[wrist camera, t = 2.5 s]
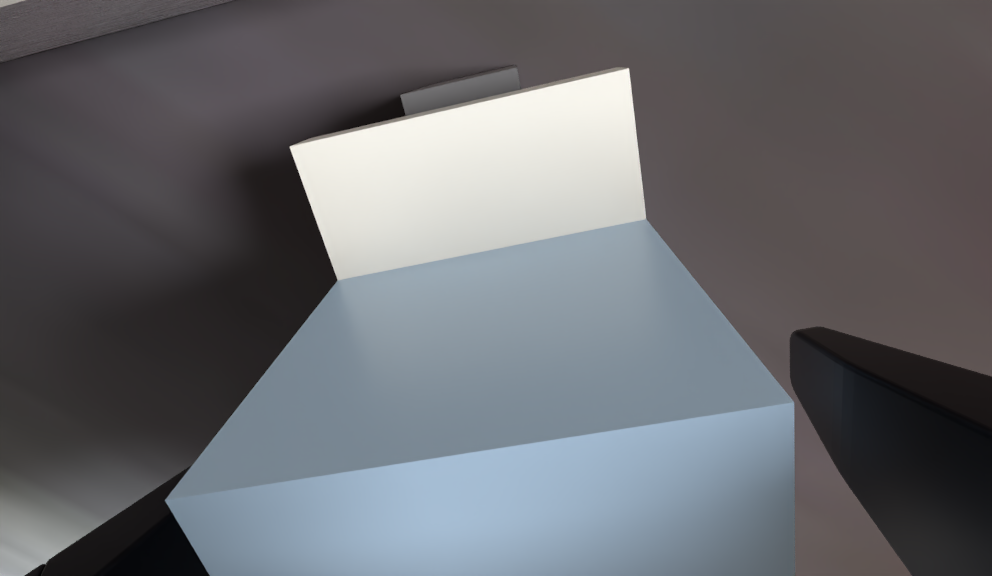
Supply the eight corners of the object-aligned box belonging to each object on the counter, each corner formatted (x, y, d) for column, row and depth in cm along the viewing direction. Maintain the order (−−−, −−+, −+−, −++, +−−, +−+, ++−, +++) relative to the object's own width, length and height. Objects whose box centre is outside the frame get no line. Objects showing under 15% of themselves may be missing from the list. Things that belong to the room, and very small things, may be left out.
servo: (484, 506, 13) (452, 982, 7) (362, 100, 10) (-10, 210, 3) (647, 482, 13) (797, 969, 6) (584, 48, 9) (792, 26, 2)
